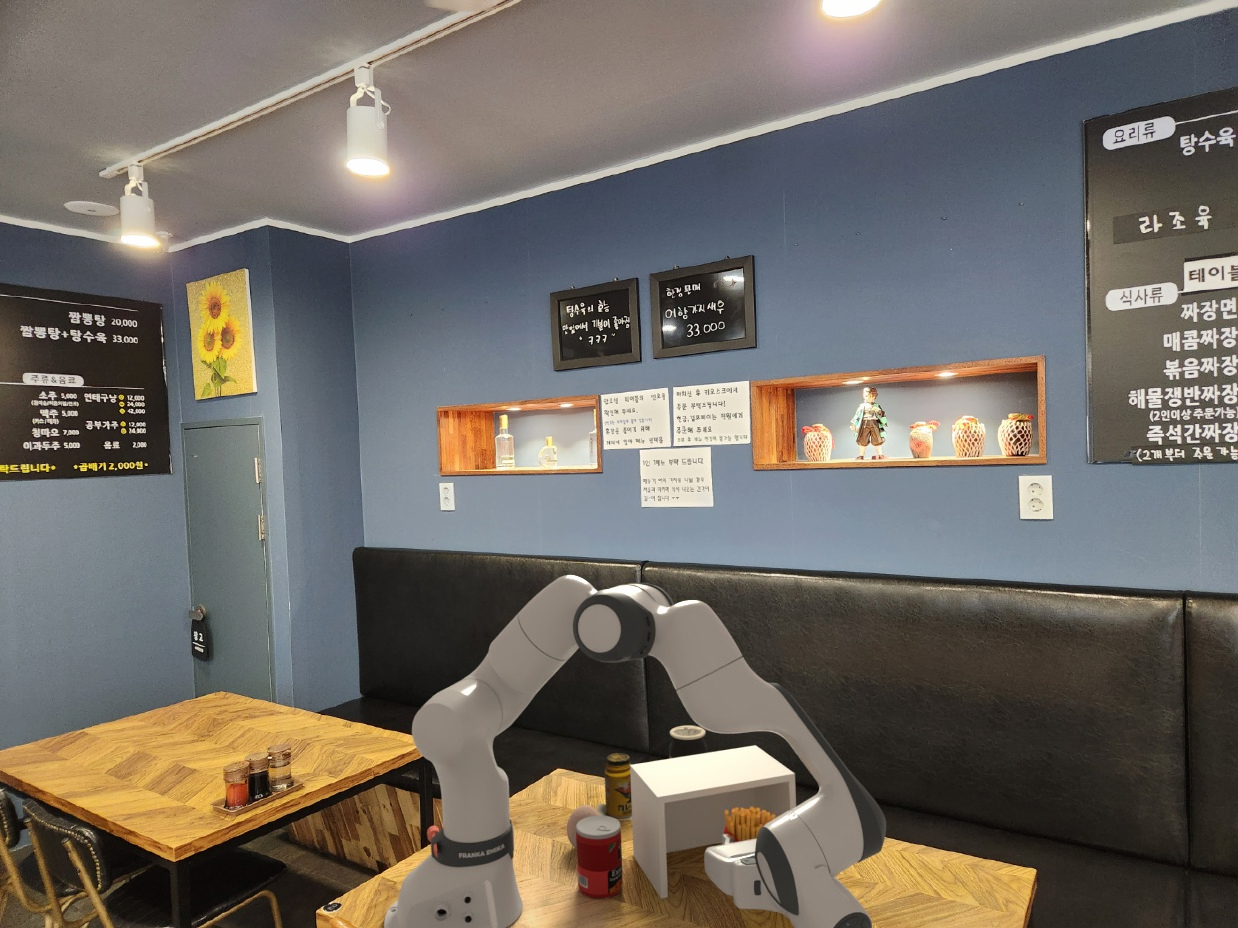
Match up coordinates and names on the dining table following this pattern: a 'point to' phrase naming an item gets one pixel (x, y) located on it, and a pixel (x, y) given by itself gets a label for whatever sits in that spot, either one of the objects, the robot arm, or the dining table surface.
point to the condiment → (617, 788)
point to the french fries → (746, 823)
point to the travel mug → (687, 741)
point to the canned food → (599, 856)
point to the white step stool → (700, 801)
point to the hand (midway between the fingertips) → (746, 834)
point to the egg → (575, 817)
